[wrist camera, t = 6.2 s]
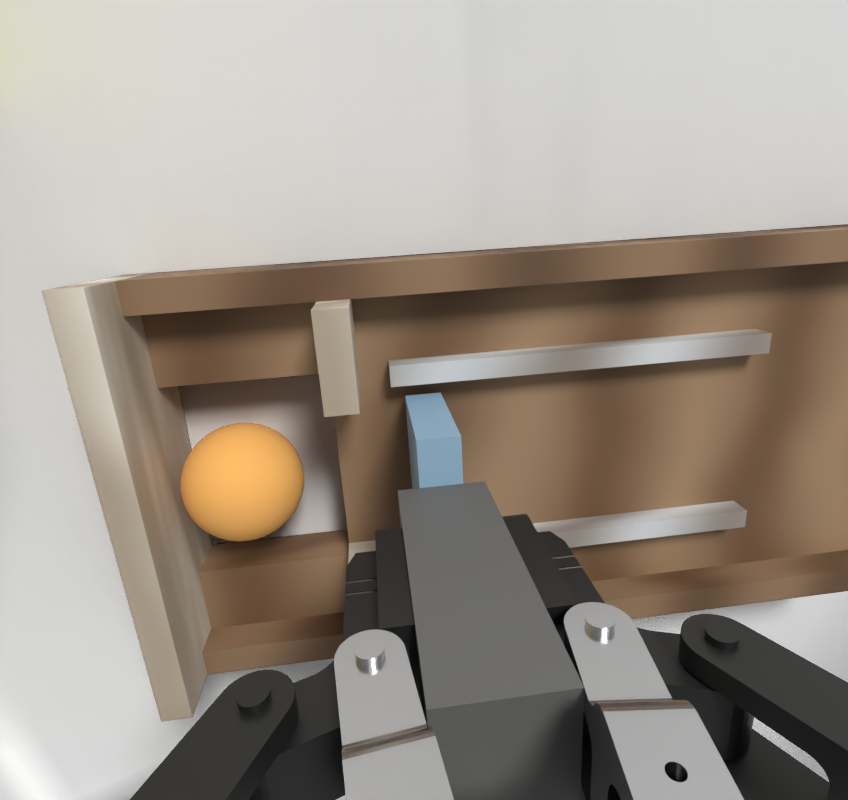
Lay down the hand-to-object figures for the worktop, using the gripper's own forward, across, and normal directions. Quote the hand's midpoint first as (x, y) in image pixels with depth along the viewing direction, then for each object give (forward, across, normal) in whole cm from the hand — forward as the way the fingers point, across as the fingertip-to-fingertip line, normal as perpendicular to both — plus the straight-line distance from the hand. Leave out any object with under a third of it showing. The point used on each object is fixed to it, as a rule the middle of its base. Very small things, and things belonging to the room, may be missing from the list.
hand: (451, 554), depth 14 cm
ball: (+6, +6, 0) cm, 8 cm away
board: (+8, -4, 0) cm, 9 cm away
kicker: (+5, 0, 0) cm, 5 cm away
